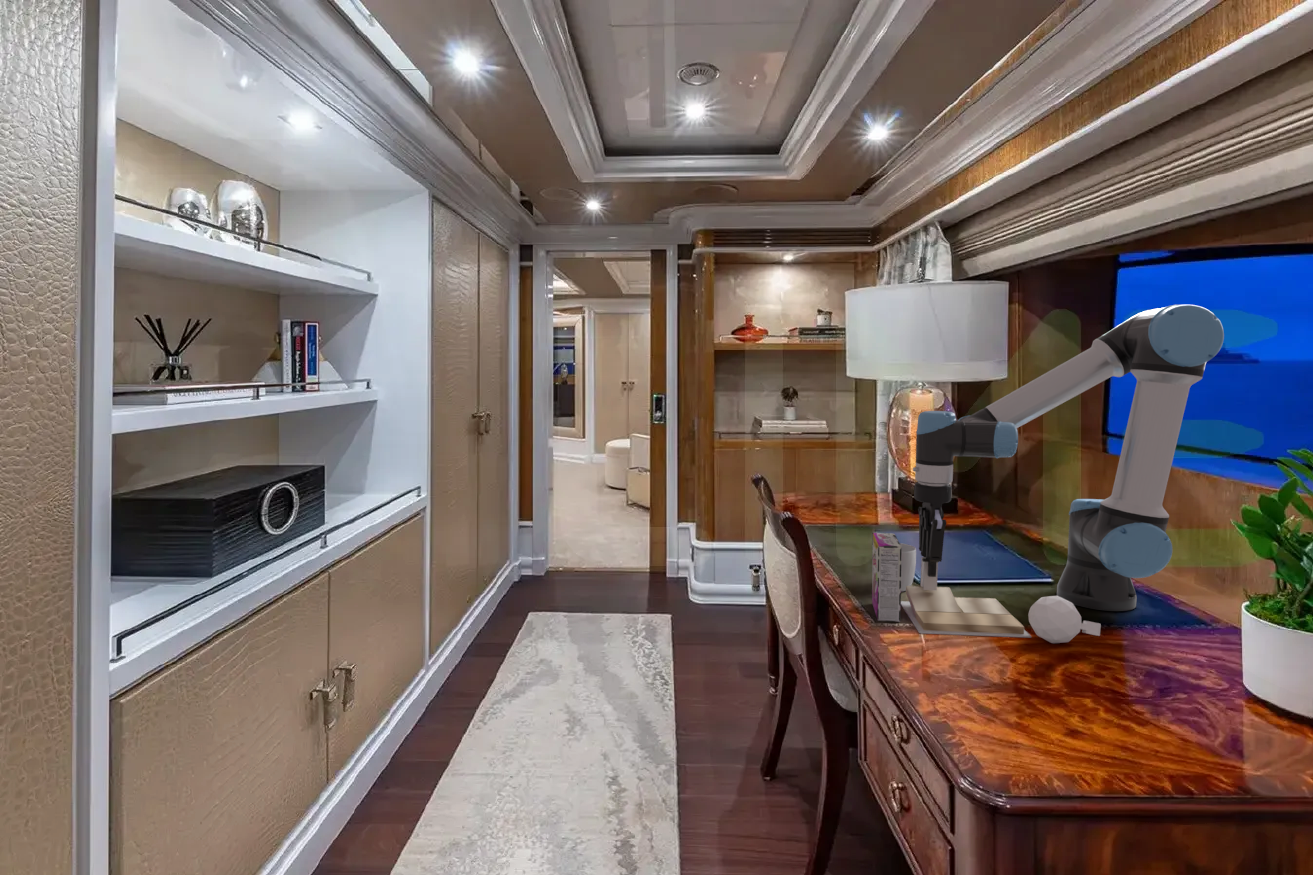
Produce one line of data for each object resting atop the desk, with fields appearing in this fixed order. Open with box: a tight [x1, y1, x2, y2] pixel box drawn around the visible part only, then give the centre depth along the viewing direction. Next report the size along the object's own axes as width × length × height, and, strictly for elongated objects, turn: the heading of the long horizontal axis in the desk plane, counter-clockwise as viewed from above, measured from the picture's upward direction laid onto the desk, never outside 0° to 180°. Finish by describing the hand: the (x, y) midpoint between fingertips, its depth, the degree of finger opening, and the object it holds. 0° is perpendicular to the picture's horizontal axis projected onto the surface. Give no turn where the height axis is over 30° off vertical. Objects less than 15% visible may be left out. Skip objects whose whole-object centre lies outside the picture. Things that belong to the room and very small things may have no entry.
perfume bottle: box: [1027, 595, 1102, 644], centre depth 131 cm, size 9×9×12 cm
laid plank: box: [915, 611, 1025, 634], centre depth 139 cm, size 19×7×2 cm, turn 83°
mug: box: [899, 542, 917, 593], centre depth 165 cm, size 13×9×10 cm
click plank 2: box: [954, 596, 1012, 615], centre depth 146 cm, size 9×9×1 cm
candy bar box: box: [871, 532, 902, 623], centre depth 147 cm, size 11×5×16 cm, turn 168°
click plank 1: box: [905, 585, 961, 616], centre depth 148 cm, size 9×9×1 cm
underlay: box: [901, 600, 1032, 639], centre depth 144 cm, size 21×18×1 cm
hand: (928, 587), depth 150 cm, fingers open, 1 cm apart
